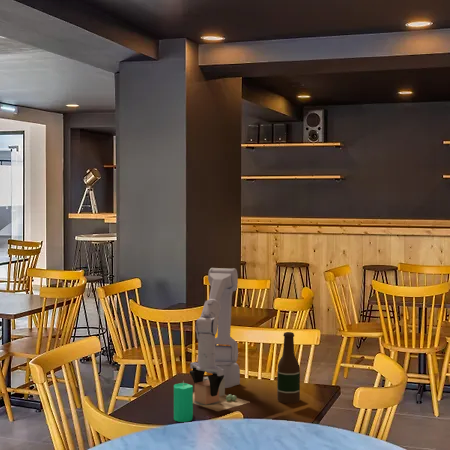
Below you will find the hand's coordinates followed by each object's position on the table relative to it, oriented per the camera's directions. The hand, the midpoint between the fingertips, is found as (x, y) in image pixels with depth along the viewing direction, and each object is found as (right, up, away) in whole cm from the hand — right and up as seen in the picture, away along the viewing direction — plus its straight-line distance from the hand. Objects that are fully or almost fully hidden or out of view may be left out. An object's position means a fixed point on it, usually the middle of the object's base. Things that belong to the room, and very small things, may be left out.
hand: (206, 393), depth 231 cm
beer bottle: (+28, -4, +2) cm, 28 cm away
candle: (-7, -5, -15) cm, 17 cm away
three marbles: (+8, -3, +2) cm, 9 cm away
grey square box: (+2, -3, +8) cm, 9 cm away
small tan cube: (0, -3, 0) cm, 3 cm away
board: (+2, -4, +3) cm, 5 cm away
